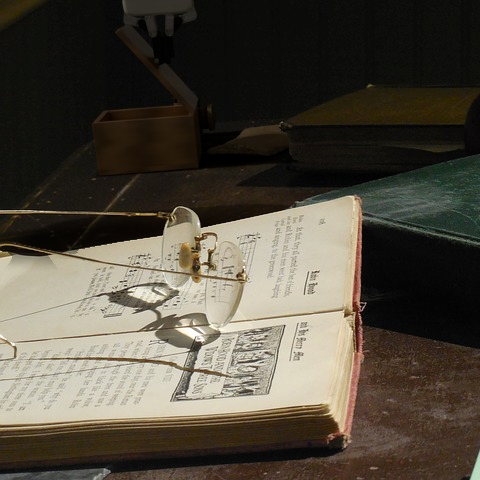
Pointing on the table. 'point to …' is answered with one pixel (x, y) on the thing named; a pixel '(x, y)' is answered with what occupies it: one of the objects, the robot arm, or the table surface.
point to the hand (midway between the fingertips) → (165, 63)
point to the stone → (255, 142)
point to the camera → (203, 119)
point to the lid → (158, 67)
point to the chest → (147, 140)
